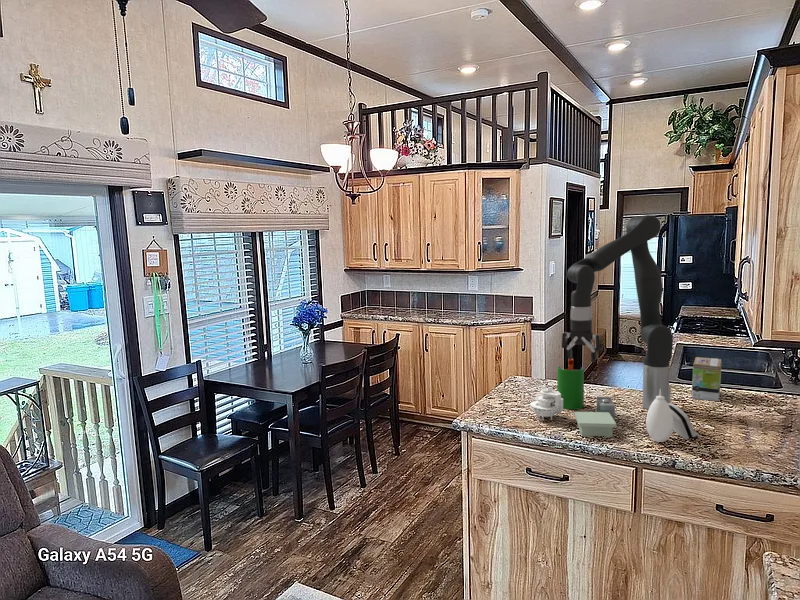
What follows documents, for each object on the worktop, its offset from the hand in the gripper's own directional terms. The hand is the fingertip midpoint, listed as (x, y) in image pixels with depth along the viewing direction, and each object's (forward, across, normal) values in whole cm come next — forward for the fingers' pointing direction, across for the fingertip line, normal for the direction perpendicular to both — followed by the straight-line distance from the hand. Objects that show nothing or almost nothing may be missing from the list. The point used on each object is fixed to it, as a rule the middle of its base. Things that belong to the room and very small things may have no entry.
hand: (581, 360), depth 201 cm
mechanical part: (+22, +10, +9) cm, 26 cm away
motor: (+22, +8, -9) cm, 25 cm away
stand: (+22, -9, +14) cm, 27 cm away
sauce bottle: (+22, -30, +12) cm, 39 cm away
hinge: (+22, -32, -2) cm, 39 cm away
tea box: (+23, -34, -52) cm, 66 cm away
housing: (+22, -9, 0) cm, 23 cm away
